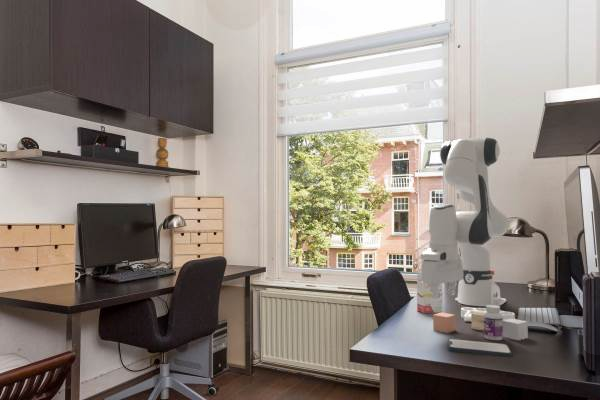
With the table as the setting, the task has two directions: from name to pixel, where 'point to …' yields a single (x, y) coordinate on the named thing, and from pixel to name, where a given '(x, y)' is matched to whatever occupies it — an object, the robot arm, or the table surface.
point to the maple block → (477, 320)
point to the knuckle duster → (468, 311)
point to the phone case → (478, 347)
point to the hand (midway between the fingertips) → (443, 296)
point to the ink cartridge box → (427, 297)
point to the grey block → (515, 329)
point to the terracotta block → (444, 322)
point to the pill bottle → (493, 323)
